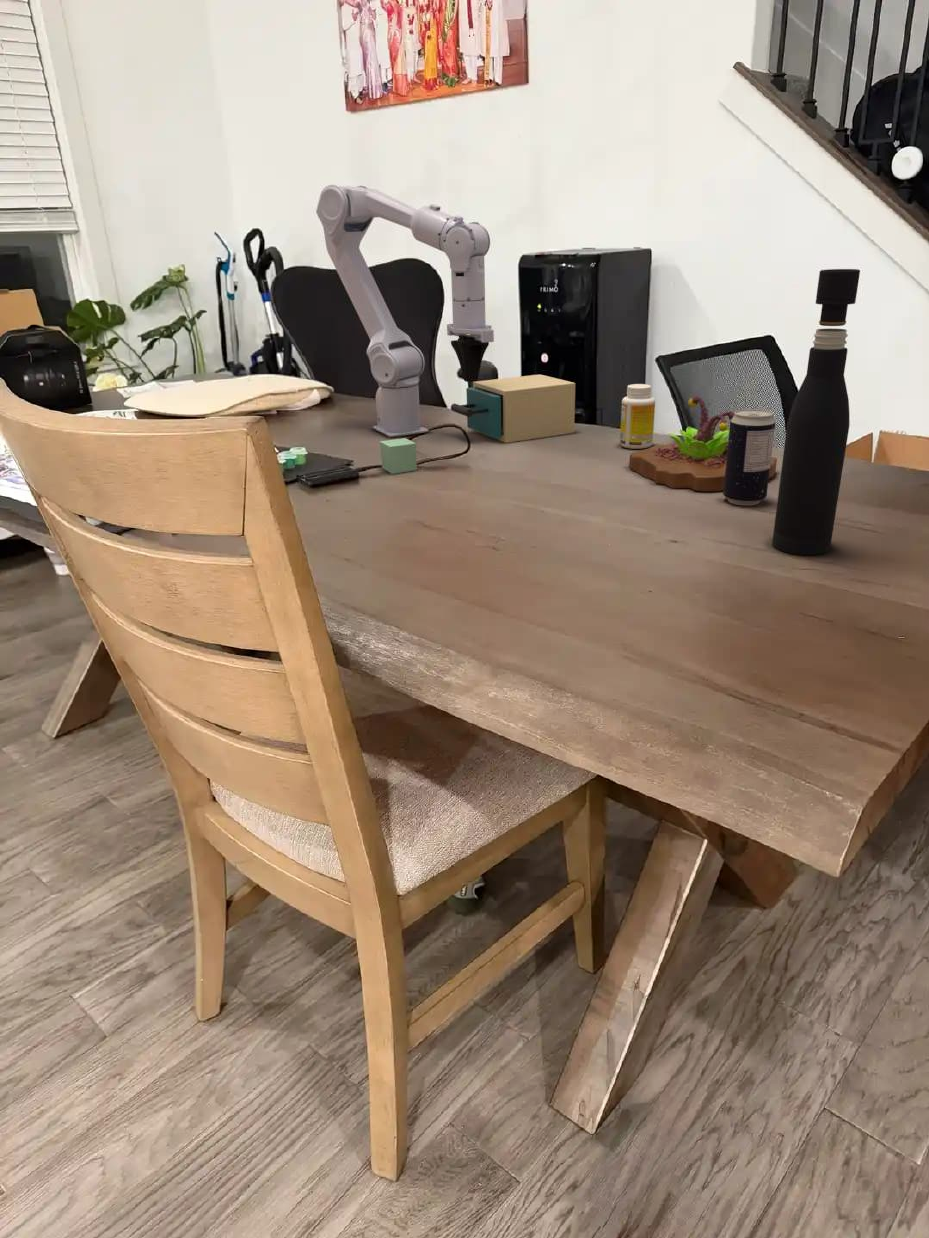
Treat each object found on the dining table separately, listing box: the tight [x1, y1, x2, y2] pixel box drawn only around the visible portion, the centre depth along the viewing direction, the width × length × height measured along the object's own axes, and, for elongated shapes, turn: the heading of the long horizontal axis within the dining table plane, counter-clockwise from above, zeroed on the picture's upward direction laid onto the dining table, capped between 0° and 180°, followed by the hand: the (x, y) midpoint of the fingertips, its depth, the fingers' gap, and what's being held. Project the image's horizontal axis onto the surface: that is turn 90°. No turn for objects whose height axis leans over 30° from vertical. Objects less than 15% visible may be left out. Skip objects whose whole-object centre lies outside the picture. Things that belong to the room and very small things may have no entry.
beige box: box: [472, 374, 576, 444], centre depth 158 cm, size 15×13×9 cm
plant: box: [628, 396, 778, 492], centre depth 128 cm, size 20×20×11 cm
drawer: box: [450, 387, 503, 439], centre depth 156 cm, size 18×11×7 cm, turn 116°
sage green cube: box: [379, 437, 418, 475], centre depth 136 cm, size 4×4×4 cm
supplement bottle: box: [619, 383, 656, 450], centre depth 144 cm, size 6×6×10 cm
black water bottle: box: [771, 268, 861, 556], centre depth 93 cm, size 6×6×30 cm
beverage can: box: [722, 408, 776, 506], centre depth 113 cm, size 6×6×12 cm
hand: (470, 381), depth 151 cm, fingers closed
